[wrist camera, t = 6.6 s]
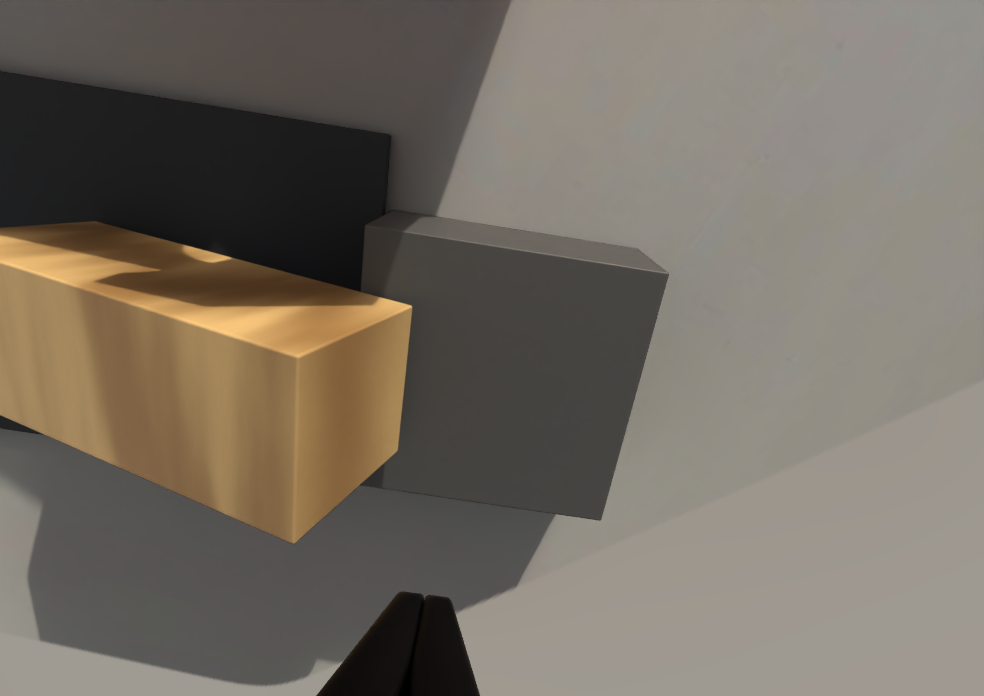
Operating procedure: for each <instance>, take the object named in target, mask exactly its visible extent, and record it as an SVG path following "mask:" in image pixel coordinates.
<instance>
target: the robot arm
mask: <svg viewBox="0 0 984 696" xmlns="http://www.w3.org/2000/svg"><path fill="white" fill-rule="evenodd" d="M317 696H480V694H479V691H478V688H477V684H476V681H475V678H474V674H473V671H472V668H471V664H470V661H469V658H468V655H467V651H466V648H465V645H464V641H463V638H462V634H461V631H460V628H459V625H458V621H457V618H456V614H455V611H454V608H453V604H452V602H451V600H450V599H449V598H447V597H441V596H434V595H428V596H426V597H425V599H424V596H423V595H422V594H419V593H411V592H404V591H402V592H399V593H398V594H397V595H396V596H395V597H394V599H393V600H392V601H391V602H390V604H389V605H388V606H387V607H386V609H385V610H384V611H383V612H382V614H381V615H380V616H379V617H378V619H377V620H376V621H375V622H374V624H373V625H372V626H371V627H370V629H369V630H368V631H367V633H366V634H365V635H364V636H363V638H362V639H361V640H360V641H359V643H358V644H357V645H356V646H355V648H354V649H353V650H352V651H351V653H350V654H349V655H348V656H347V658H346V659H345V660H344V661H343V663H342V664H341V665H340V667H339V668H338V669H337V670H336V672H335V673H334V674H333V675H332V677H331V678H330V679H329V680H328V682H327V683H326V684H325V686H324V687H323V688H322V689H321V691H320V692H319V693H318V694H317Z"/></svg>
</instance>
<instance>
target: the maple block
mask: <svg viewBox="0 0 984 696" xmlns="http://www.w3.org/2000/svg"><path fill="white" fill-rule="evenodd" d="M411 316H412V306H411V305H407V304H404V303H400V302H396V301H392V300H389V299H385V298H381V297H377V296H374V295H370V294H366V293H362V292H359V291H355V290H351V289H347V288H344V287H340V286H336V285H332V284H329V283H325V282H321V281H317V280H314V279H310V278H306V277H302V276H299V275H295V274H291V273H287V272H284V271H280V270H276V269H272V268H269V267H265V266H261V265H257V264H254V263H250V262H246V261H242V260H239V259H235V258H231V257H227V256H224V255H220V254H216V253H212V252H209V251H205V250H201V249H197V248H194V247H190V246H186V245H182V244H179V243H175V242H171V241H167V240H164V239H160V238H156V237H152V236H149V235H145V234H141V233H137V232H134V231H130V230H126V229H122V228H119V227H115V226H111V225H108V224H104V223H100V222H96V221H91V222H77V223H62V224H48V225H33V226H19V227H4V228H0V415H1V416H3V417H6V418H8V419H10V420H12V421H15V422H17V423H19V424H21V425H24V426H26V427H28V428H31V429H33V430H35V431H37V432H40V433H42V434H44V435H46V436H49V437H51V438H53V439H55V440H58V441H60V442H62V443H65V444H67V445H69V446H71V447H74V448H76V449H78V450H80V451H83V452H85V453H87V454H89V455H92V456H94V457H96V458H99V459H101V460H103V461H105V462H108V463H110V464H112V465H114V466H117V467H119V468H121V469H123V470H126V471H128V472H130V473H132V474H135V475H137V476H139V477H142V478H144V479H146V480H148V481H151V482H153V483H155V484H157V485H160V486H162V487H164V488H166V489H169V490H171V491H173V492H176V493H178V494H180V495H182V496H185V497H187V498H189V499H191V500H194V501H196V502H198V503H200V504H203V505H205V506H207V507H210V508H212V509H214V510H216V511H219V512H221V513H223V514H225V515H228V516H230V517H232V518H234V519H237V520H239V521H241V522H244V523H246V524H248V525H250V526H253V527H255V528H257V529H259V530H262V531H264V532H266V533H268V534H271V535H273V536H275V537H278V538H280V539H282V540H284V541H287V542H289V543H291V544H294V543H296V542H297V541H298V540H299V539H300V538H301V537H302V536H304V535H305V534H306V533H307V532H308V531H309V530H310V529H311V528H312V527H314V526H315V525H316V524H317V523H318V522H319V521H320V520H321V519H322V518H324V517H325V516H326V515H327V514H328V513H329V512H330V511H331V510H332V509H334V508H335V507H336V506H337V505H338V504H339V503H340V502H341V501H342V500H344V499H345V498H346V497H347V496H348V495H349V494H350V493H351V492H352V491H354V490H355V489H356V488H357V487H358V486H359V485H360V484H361V483H362V482H364V481H365V480H366V479H367V478H368V477H369V476H370V475H371V474H372V473H374V472H375V471H376V470H377V469H378V468H379V467H380V466H381V465H382V464H384V463H385V462H386V461H387V460H388V459H389V458H390V457H391V456H392V455H394V454H395V453H396V452H397V451H398V443H399V433H400V423H401V413H402V404H403V394H404V384H405V374H406V365H407V355H408V345H409V336H410V326H411Z"/></svg>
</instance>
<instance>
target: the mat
mask: <svg viewBox="0 0 984 696" xmlns="http://www.w3.org/2000/svg"><path fill="white" fill-rule="evenodd" d="M390 142H391V135H388V134H382V133H376V132H370V131H364V130H358V129H351V128H345V127H339V126H333V125H327V124H321V123H315V122H308V121H302V120H296V119H290V118H284V117H278V116H272V115H266V114H259V113H253V112H247V111H241V110H235V109H229V108H223V107H216V106H210V105H204V104H198V103H192V102H186V101H180V100H173V99H167V98H161V97H155V96H149V95H143V94H137V93H130V92H124V91H118V90H112V89H106V88H100V87H94V86H87V85H81V84H75V83H69V82H63V81H57V80H51V79H44V78H38V77H32V76H26V75H20V74H14V73H8V72H2V71H0V228H4V227H19V226H33V225H48V224H62V223H77V222H91V221H96V222H100V223H104V224H108V225H111V226H115V227H119V228H122V229H126V230H130V231H134V232H137V233H141V234H145V235H149V236H152V237H156V238H160V239H164V240H167V241H171V242H175V243H179V244H182V245H186V246H190V247H194V248H197V249H201V250H205V251H209V252H212V253H216V254H220V255H224V256H227V257H231V258H235V259H239V260H242V261H246V262H250V263H254V264H257V265H261V266H265V267H269V268H272V269H276V270H280V271H284V272H287V273H291V274H295V275H299V276H302V277H306V278H310V279H314V280H317V281H321V282H325V283H329V284H332V285H336V286H340V287H344V288H347V289H351V290H355V291H359V292H361V278H362V263H363V248H364V232H365V225H366V224H368V223H370V222H372V221H374V220H376V219H378V218H380V217H382V216H384V215H385V206H386V193H387V180H388V168H389V155H390ZM0 428H2V429H8V430H15V431H22V432H29V433H35V434H42V433H40V432H37V431H35V430H33V429H31V428H28V427H26V426H24V425H21V424H19V423H17V422H15V421H12V420H10V419H8V418H6V417H3V416H1V415H0ZM42 435H44V434H42Z"/></svg>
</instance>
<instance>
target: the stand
mask: <svg viewBox="0 0 984 696" xmlns="http://www.w3.org/2000/svg"><path fill="white" fill-rule="evenodd" d="M668 276H669V273H668V272H667V271H665V270H664V269H663V268H662V267H660V266H659V265H658V264H656V263H655V262H654V261H653V260H651V259H650V258H649V257H648V256H646V255H645V254H644V253H642V252H641V251H640V250H639V249H635V248H629V247H623V246H616V245H610V244H604V243H598V242H591V241H585V240H579V239H573V238H566V237H560V236H554V235H547V234H541V233H535V232H529V231H522V230H516V229H510V228H504V227H497V226H491V225H485V224H479V223H472V222H466V221H460V220H454V219H447V218H441V217H435V216H428V215H422V214H416V213H410V212H403V211H397V210H393V211H391V212H389V213H387V214H385V215H384V216H382V217H380V218H378V219H376V220H374V221H372V222H370V223H368V224H366V225H365V232H364V248H363V263H362V278H361V292H362V293H366V294H370V295H374V296H377V297H381V298H385V299H389V300H392V301H396V302H400V303H404V304H407V305H411V306H412V316H411V326H410V336H409V345H408V355H407V365H406V374H405V384H404V394H403V404H402V413H401V423H400V433H399V443H398V451H397V452H396V453H395V454H394V455H392V456H391V457H390V458H389V459H388V460H387V461H386V462H385V463H384V464H382V465H381V466H380V467H379V468H378V469H377V470H376V471H375V472H374V473H372V474H371V475H370V476H369V477H368V478H367V479H366V480H365V481H364V482H362V483H361V484H360V485H363V486H370V487H376V488H383V489H390V490H397V491H403V492H410V493H417V494H424V495H431V496H437V497H444V498H451V499H458V500H464V501H471V502H478V503H485V504H492V505H498V506H505V507H512V508H519V509H525V510H532V511H539V512H546V513H553V514H559V515H566V516H573V517H580V518H586V519H593V520H601V518H602V515H603V511H604V508H605V504H606V500H607V497H608V493H609V489H610V486H611V482H612V479H613V475H614V471H615V468H616V464H617V460H618V457H619V453H620V450H621V446H622V442H623V439H624V435H625V431H626V428H627V424H628V421H629V417H630V413H631V410H632V406H633V402H634V399H635V395H636V392H637V388H638V384H639V381H640V377H641V373H642V370H643V366H644V363H645V359H646V355H647V352H648V348H649V344H650V341H651V337H652V334H653V330H654V326H655V323H656V319H657V316H658V312H659V308H660V305H661V301H662V297H663V294H664V290H665V287H666V283H667V279H668Z"/></svg>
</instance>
